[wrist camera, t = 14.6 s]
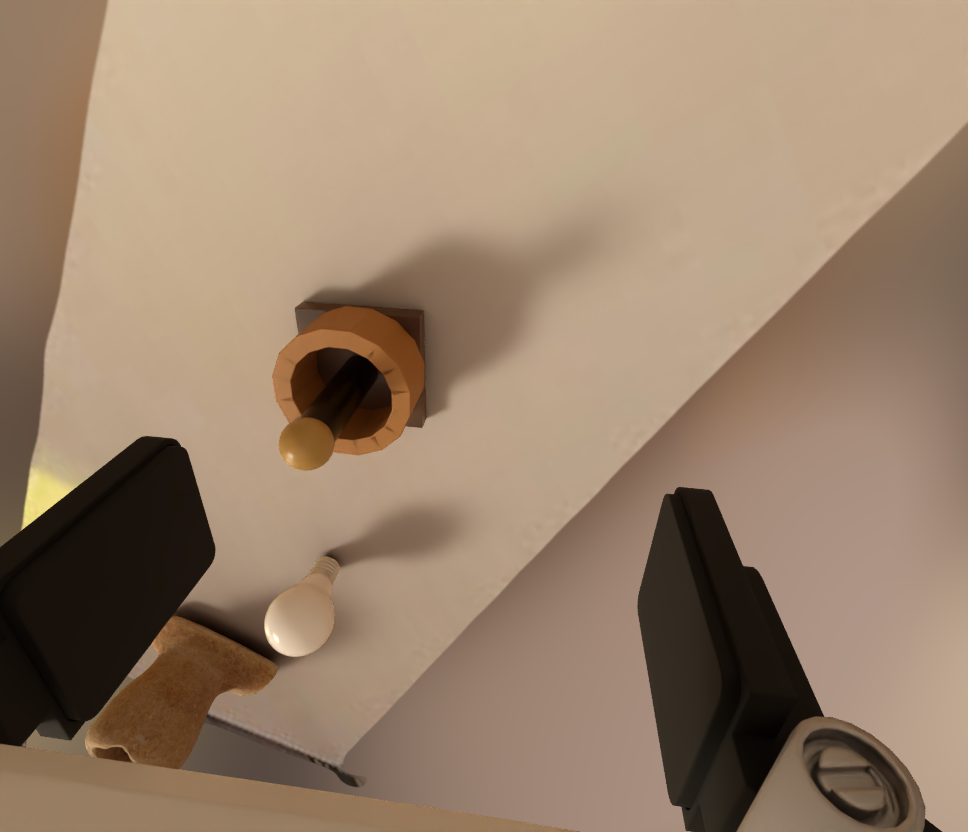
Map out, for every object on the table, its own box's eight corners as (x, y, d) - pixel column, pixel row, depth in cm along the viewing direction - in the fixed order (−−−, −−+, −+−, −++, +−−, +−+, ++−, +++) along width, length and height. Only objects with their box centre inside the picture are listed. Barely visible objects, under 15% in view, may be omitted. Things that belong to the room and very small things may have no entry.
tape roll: (293, 300, 42) (263, 322, 37) (425, 313, 41) (410, 337, 37) (307, 415, 47) (282, 446, 42) (423, 429, 46) (410, 462, 42)
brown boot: (148, 645, 69) (55, 767, 57) (174, 596, 64) (77, 720, 51) (253, 695, 72) (188, 822, 60) (287, 653, 67) (223, 783, 54)
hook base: (302, 301, 43) (294, 307, 42) (423, 310, 42) (419, 317, 41) (317, 409, 48) (310, 417, 47) (426, 418, 47) (422, 428, 46)
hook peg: (339, 350, 43) (265, 432, 32) (380, 353, 43) (319, 437, 32) (343, 387, 45) (274, 478, 34) (382, 390, 45) (325, 483, 34)
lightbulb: (348, 537, 56) (306, 624, 46) (365, 580, 59) (329, 671, 49) (292, 540, 57) (240, 626, 47) (312, 583, 60) (266, 672, 50)
